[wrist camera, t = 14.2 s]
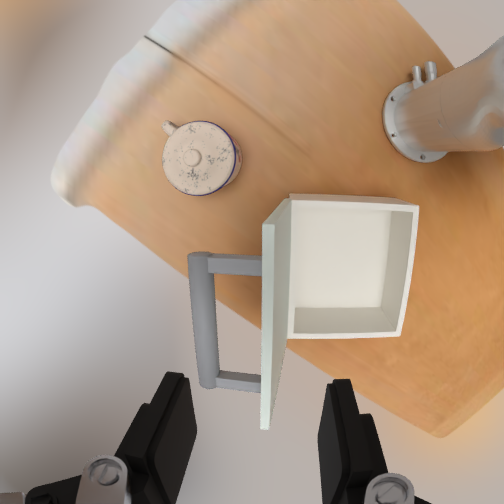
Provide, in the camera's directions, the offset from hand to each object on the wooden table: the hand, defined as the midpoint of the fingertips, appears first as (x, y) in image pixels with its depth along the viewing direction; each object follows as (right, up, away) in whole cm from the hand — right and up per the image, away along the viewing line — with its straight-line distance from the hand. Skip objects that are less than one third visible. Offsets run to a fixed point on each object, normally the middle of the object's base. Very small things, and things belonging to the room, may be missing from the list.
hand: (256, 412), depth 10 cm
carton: (+13, +5, +36) cm, 39 cm away
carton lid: (+3, +1, +21) cm, 21 cm away
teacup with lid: (-7, +20, +34) cm, 40 cm away
